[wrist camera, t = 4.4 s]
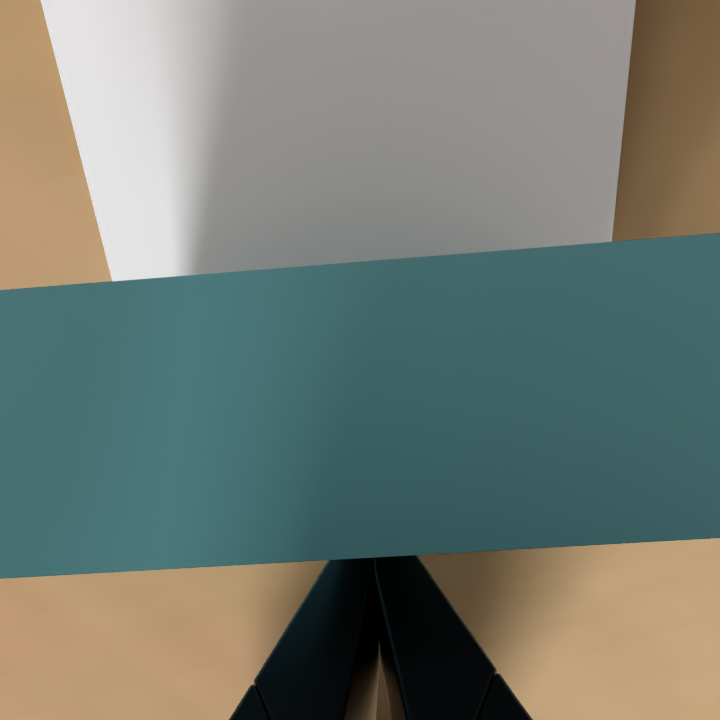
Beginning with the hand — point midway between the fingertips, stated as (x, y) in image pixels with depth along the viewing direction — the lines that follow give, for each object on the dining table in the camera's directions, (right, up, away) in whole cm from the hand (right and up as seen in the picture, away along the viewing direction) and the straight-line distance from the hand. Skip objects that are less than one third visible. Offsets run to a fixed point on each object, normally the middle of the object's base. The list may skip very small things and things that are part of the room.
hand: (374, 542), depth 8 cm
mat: (-1, +9, +4) cm, 10 cm away
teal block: (0, +2, +6) cm, 6 cm away
